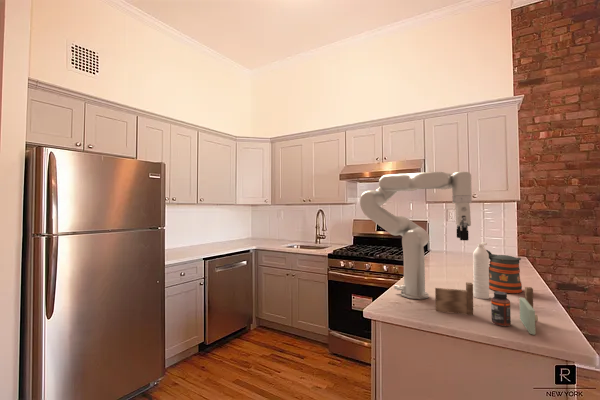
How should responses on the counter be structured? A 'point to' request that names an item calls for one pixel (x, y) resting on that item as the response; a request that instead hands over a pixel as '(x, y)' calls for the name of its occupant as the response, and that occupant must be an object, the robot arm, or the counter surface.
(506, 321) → the supplement bottle
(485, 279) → the water bottle
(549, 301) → the counter surface
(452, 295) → the wall frame
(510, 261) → the beer stein
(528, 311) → the door leaf
